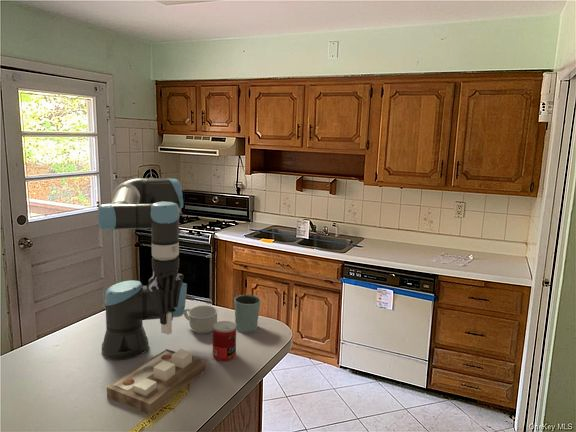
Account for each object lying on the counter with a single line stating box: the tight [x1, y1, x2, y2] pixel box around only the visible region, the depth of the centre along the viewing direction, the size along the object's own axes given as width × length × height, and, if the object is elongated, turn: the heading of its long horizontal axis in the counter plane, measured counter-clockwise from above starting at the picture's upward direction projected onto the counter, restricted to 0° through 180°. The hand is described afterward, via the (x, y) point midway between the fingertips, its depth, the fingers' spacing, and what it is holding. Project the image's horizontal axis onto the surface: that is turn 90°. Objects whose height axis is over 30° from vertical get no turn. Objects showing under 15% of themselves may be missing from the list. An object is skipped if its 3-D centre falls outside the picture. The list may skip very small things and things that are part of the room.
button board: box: [106, 348, 207, 415], centre depth 129 cm, size 16×25×3 cm, turn 155°
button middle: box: [153, 360, 175, 382], centre depth 128 cm, size 4×4×4 cm
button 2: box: [172, 348, 193, 369], centre depth 135 cm, size 4×4×4 cm
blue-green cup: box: [233, 294, 261, 334], centre depth 167 cm, size 10×10×12 cm
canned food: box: [212, 320, 237, 362], centre depth 145 cm, size 8×8×11 cm
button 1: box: [133, 378, 157, 396], centre depth 121 cm, size 4×4×4 cm
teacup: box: [183, 304, 218, 335], centre depth 164 cm, size 14×11×8 cm
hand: (166, 332), depth 127 cm, fingers closed
